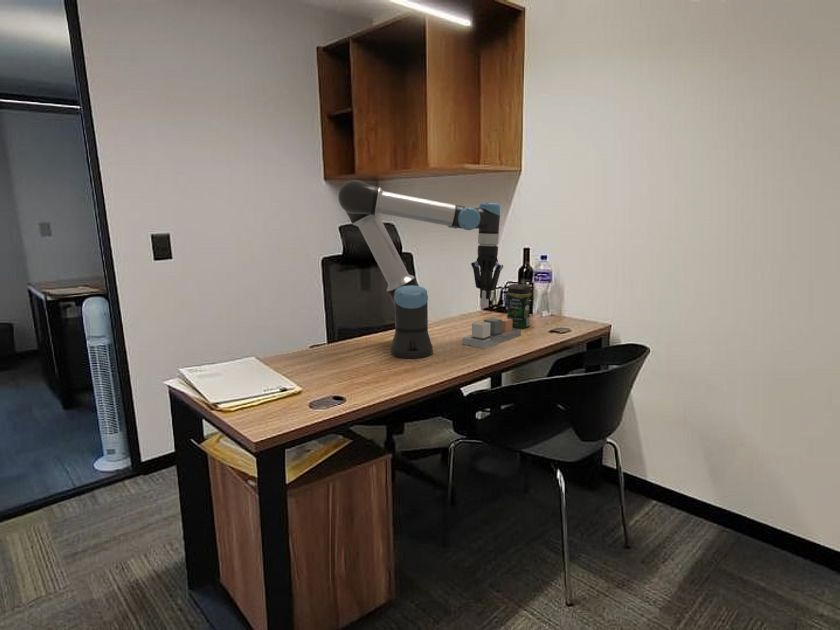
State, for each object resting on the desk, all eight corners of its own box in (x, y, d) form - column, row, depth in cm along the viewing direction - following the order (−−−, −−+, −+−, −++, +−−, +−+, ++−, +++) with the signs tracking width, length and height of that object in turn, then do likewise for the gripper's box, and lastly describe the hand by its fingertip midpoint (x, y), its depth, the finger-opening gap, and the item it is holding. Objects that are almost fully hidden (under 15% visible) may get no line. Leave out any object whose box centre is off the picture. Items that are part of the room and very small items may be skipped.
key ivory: (482, 338, 193) (482, 325, 192) (471, 336, 196) (471, 323, 195) (490, 335, 196) (490, 322, 195) (479, 333, 200) (479, 321, 198)
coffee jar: (503, 326, 225) (504, 284, 221) (513, 323, 230) (514, 282, 227) (523, 329, 218) (524, 286, 215) (532, 326, 224) (534, 284, 220)
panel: (484, 348, 190) (484, 341, 189) (462, 344, 196) (462, 337, 196) (520, 335, 209) (520, 329, 208) (499, 331, 215) (499, 325, 215)
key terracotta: (505, 333, 205) (505, 321, 204) (494, 331, 208) (495, 319, 207) (512, 331, 208) (512, 319, 207) (501, 329, 212) (501, 317, 211)
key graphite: (494, 334, 198) (494, 321, 197) (483, 332, 202) (483, 319, 201) (501, 331, 202) (501, 319, 201) (490, 330, 205) (491, 317, 204)
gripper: (508, 245, 191) (504, 308, 196) (478, 243, 199) (475, 303, 204) (498, 246, 186) (494, 310, 190) (467, 244, 194) (465, 306, 198)
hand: (484, 307), depth 197 cm, fingers closed
